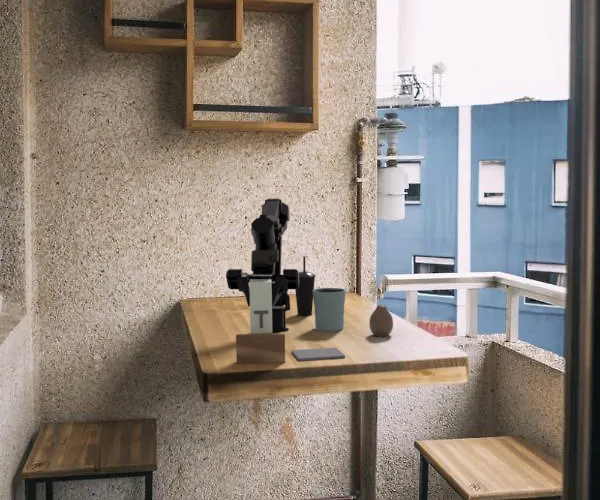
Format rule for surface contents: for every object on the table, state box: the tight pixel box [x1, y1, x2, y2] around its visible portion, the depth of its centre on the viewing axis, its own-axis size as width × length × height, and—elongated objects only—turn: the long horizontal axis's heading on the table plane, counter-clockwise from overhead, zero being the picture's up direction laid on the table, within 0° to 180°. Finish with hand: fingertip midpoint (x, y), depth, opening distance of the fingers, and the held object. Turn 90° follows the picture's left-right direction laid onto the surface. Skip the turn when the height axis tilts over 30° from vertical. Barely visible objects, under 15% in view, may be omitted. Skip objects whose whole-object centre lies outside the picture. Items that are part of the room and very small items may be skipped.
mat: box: [291, 347, 346, 362], centre depth 174 cm, size 12×9×1 cm
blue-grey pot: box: [313, 287, 346, 332], centre depth 206 cm, size 10×10×12 cm
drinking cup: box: [294, 255, 316, 317], centre depth 229 cm, size 8×8×20 cm
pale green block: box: [249, 279, 273, 334], centre depth 172 cm, size 6×6×13 cm
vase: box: [368, 304, 394, 337], centre depth 196 cm, size 7×7×9 cm
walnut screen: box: [235, 332, 286, 365], centre depth 167 cm, size 2×12×7 cm, turn 93°
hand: (260, 305), depth 170 cm, fingers closed on pale green block, 6 cm apart
